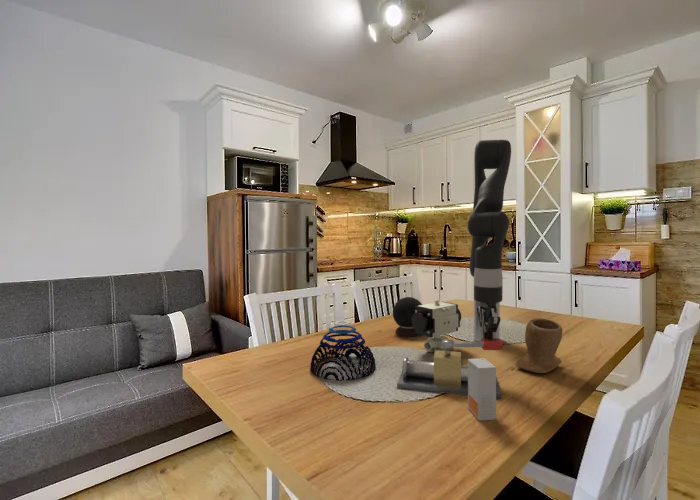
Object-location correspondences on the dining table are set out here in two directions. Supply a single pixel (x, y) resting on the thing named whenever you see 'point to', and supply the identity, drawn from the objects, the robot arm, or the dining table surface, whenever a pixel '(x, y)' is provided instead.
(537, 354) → the stone cup
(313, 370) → the decorative bowl
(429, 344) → the ball valve
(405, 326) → the black ball on base
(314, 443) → the dining table surface
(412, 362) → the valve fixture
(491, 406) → the skincare box
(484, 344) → the valve lever
